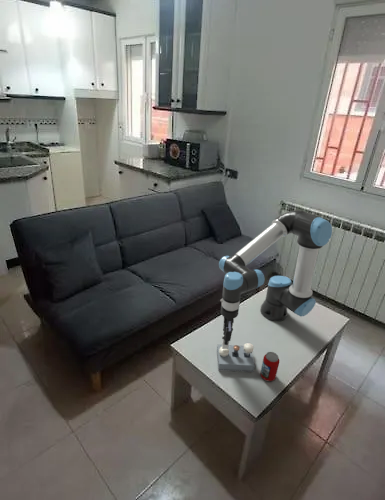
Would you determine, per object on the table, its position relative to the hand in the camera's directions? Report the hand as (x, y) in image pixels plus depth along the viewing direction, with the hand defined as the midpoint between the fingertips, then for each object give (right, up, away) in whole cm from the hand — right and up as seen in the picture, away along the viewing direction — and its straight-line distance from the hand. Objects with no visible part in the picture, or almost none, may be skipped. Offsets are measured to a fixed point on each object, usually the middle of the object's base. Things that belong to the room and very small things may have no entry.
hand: (225, 347), depth 141 cm
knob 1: (-1, -5, +3) cm, 6 cm away
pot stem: (+5, -3, +1) cm, 6 cm away
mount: (+5, -7, +3) cm, 9 cm away
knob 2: (+10, -4, +1) cm, 11 cm away
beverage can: (+19, -12, -3) cm, 22 cm away
